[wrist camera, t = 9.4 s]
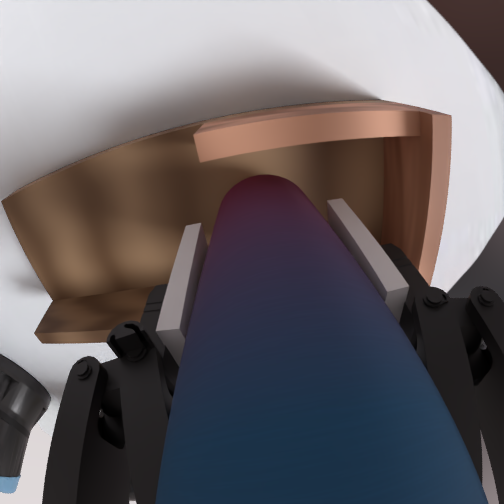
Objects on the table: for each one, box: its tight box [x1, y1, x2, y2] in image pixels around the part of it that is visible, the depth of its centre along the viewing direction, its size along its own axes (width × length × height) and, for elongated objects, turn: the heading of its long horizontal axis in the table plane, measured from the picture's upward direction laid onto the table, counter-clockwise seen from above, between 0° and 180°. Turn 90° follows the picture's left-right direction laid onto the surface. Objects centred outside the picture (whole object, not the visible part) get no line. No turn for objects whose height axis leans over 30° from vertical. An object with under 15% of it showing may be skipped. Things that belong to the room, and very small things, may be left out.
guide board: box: [1, 100, 452, 344], centre depth 16 cm, size 28×11×7 cm, turn 100°
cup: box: [155, 174, 488, 504], centre depth 9 cm, size 7×7×15 cm
